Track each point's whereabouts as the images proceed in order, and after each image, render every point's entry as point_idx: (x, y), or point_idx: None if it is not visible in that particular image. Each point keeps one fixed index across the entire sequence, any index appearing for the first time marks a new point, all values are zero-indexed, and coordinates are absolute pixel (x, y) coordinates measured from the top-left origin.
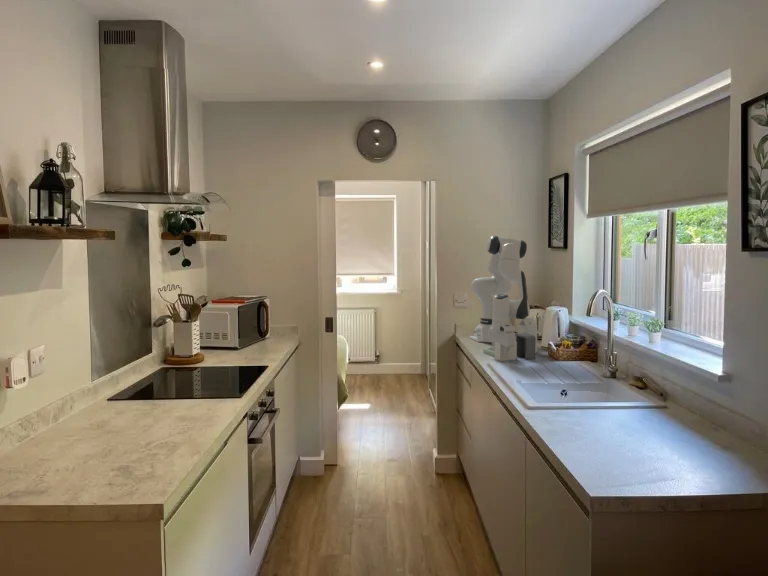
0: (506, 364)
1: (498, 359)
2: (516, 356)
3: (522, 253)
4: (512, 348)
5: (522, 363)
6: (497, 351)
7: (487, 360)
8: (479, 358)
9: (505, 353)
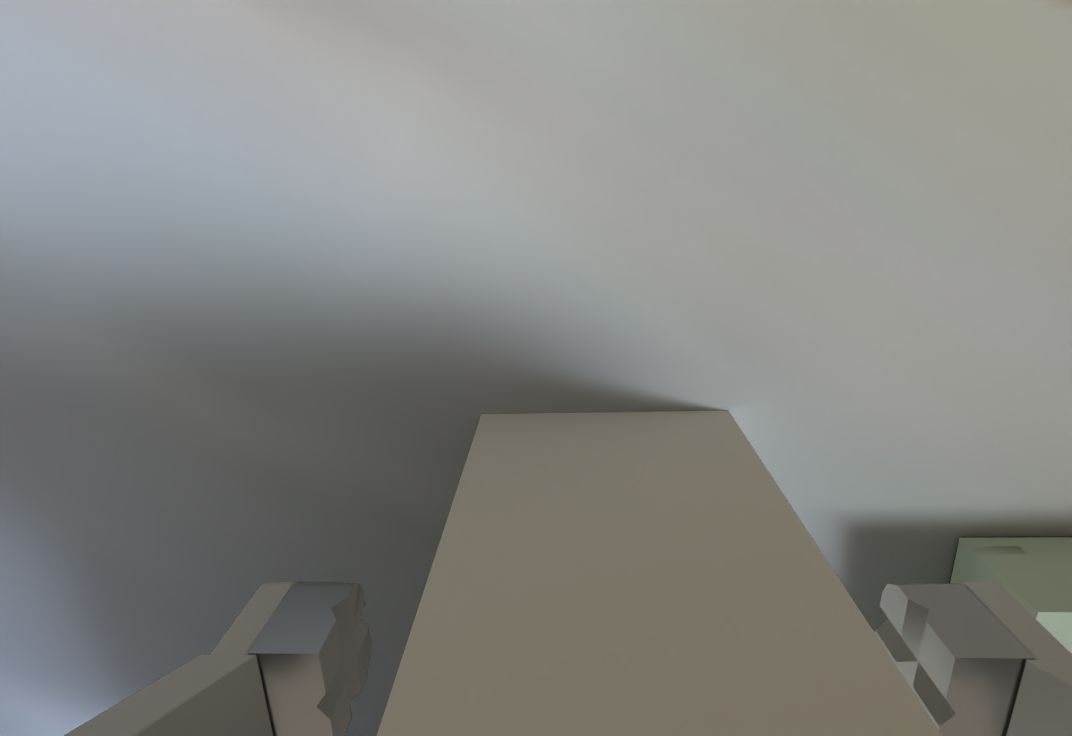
0: (87, 350)
1: (550, 422)
2: None
3: None
4: None
5: (123, 680)
6: (619, 538)
7: (661, 135)
8: (1013, 42)
9: (248, 605)
